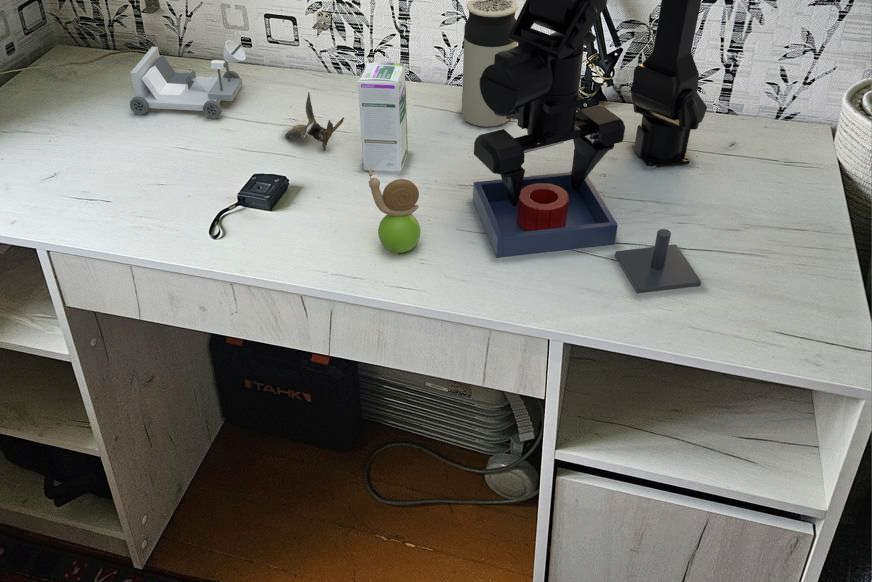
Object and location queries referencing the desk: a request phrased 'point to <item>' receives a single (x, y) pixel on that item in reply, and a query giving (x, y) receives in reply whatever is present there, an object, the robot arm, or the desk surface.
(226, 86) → the toy buggy
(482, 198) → the box
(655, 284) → the ring stand
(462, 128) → the desk surface
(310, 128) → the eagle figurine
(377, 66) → the syrup box
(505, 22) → the travel mug
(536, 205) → the ring
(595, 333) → the desk surface
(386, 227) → the snail figurine
